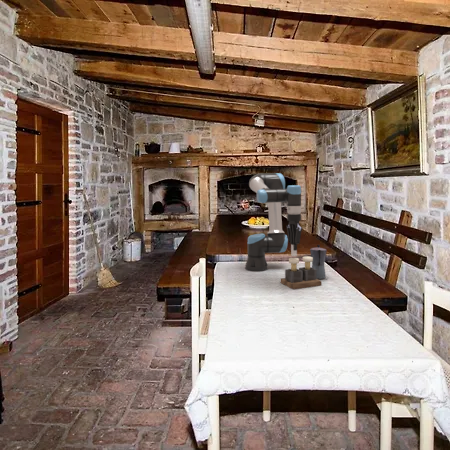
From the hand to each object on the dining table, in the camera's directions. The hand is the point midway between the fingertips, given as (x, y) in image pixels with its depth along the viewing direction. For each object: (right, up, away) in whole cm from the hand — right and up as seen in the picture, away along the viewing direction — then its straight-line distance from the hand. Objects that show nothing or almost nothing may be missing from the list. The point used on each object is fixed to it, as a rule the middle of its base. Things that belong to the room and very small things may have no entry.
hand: (294, 255), depth 189 cm
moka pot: (+18, -15, +16) cm, 28 cm away
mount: (+4, -16, +4) cm, 17 cm away
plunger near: (0, -10, +1) cm, 10 cm away
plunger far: (+9, -9, +4) cm, 13 cm away
